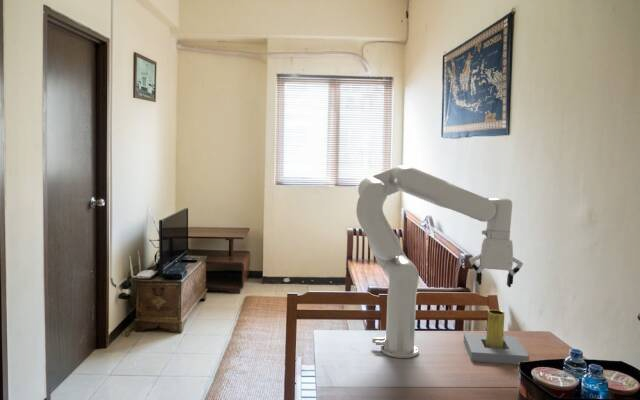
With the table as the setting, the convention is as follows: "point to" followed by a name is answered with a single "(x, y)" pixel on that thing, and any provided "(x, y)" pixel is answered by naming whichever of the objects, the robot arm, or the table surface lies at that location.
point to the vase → (495, 329)
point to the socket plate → (495, 350)
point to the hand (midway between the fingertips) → (493, 285)
